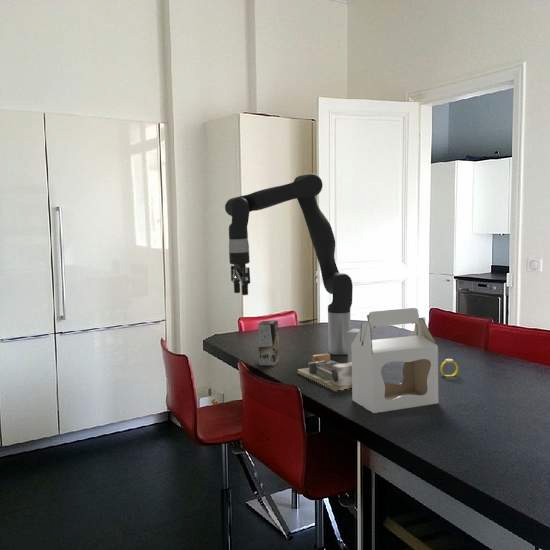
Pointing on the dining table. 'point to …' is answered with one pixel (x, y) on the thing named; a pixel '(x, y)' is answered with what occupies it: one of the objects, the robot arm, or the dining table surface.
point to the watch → (449, 362)
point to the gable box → (376, 353)
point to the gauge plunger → (323, 361)
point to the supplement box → (351, 341)
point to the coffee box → (268, 343)
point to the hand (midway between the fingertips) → (241, 293)
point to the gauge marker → (312, 368)
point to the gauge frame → (331, 376)
